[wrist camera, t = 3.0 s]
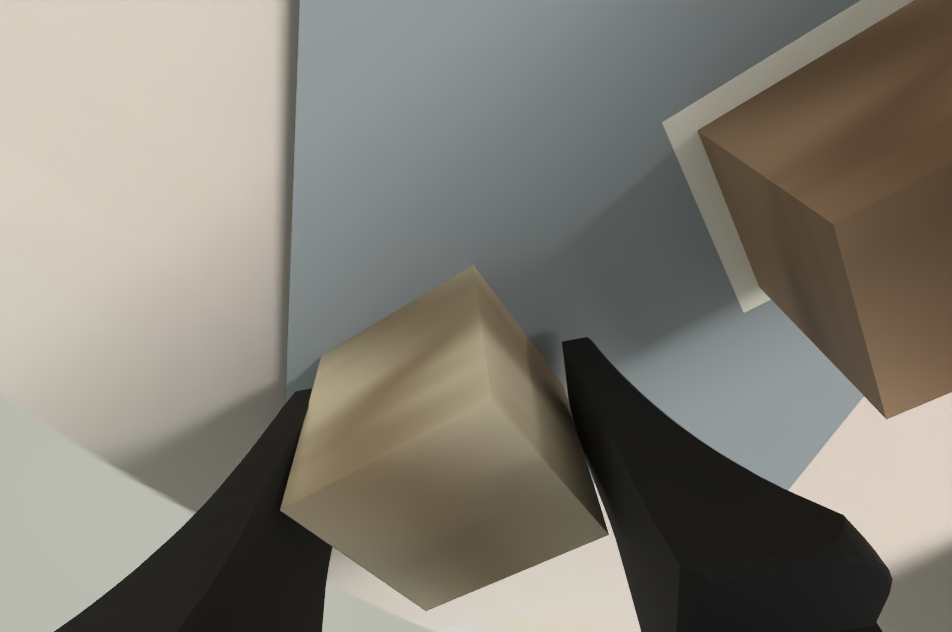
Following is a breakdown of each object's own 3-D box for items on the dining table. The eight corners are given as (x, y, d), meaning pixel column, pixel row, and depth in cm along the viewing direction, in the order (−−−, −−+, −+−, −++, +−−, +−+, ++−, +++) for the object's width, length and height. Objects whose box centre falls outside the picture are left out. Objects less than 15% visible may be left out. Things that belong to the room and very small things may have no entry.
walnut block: (932, -11, 10) (1233, 16, 6) (955, 187, 12) (1186, 293, 8) (697, 130, 11) (832, 224, 7) (758, 286, 13) (887, 419, 10)
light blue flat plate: (1147, 4, 11) (1177, 7, 10) (772, 487, 19) (780, 499, 18) (315, -258, 8) (308, -269, 8) (287, 440, 16) (283, 454, 15)
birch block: (473, 264, 12) (491, 400, 9) (563, 385, 15) (608, 535, 11) (321, 355, 14) (279, 509, 10) (427, 454, 16) (425, 611, 12)
